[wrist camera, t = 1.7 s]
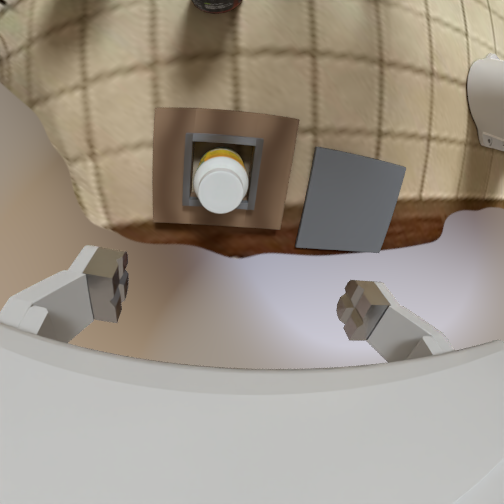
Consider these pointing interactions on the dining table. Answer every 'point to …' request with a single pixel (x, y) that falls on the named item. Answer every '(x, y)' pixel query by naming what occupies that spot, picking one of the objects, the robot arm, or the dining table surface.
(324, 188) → the slate mat
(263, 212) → the walnut stand
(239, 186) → the supplement bottle
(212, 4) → the supplement bottle
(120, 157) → the dining table surface
